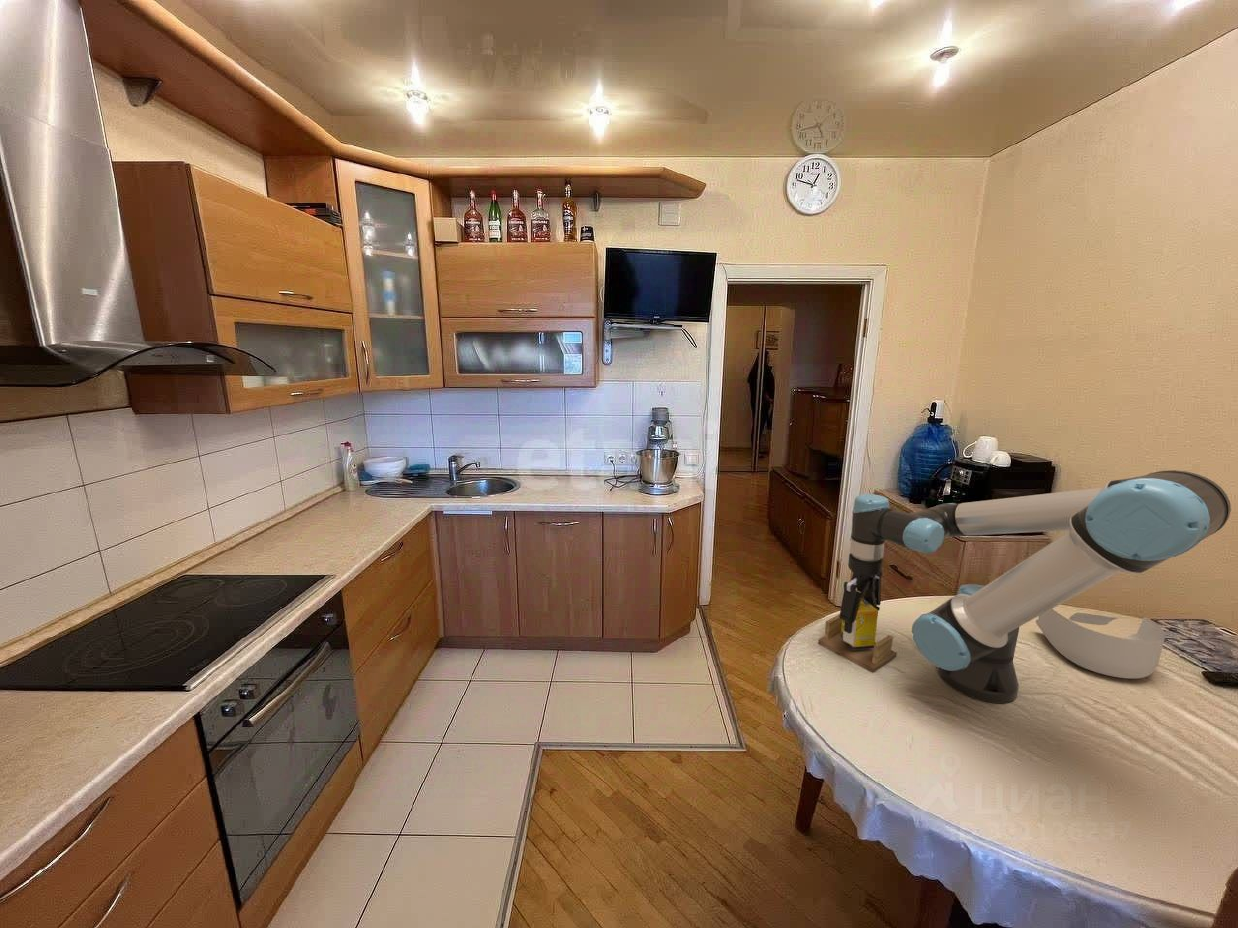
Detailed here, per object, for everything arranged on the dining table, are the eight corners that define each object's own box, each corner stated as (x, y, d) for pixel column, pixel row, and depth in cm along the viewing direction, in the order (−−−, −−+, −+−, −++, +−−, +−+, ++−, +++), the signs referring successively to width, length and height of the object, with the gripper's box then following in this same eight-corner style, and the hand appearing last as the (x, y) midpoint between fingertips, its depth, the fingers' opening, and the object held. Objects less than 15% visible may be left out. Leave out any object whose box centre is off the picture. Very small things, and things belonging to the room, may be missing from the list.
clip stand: (896, 656, 122) (899, 635, 121) (873, 672, 116) (875, 650, 115) (841, 630, 134) (843, 610, 133) (818, 643, 128) (819, 622, 127)
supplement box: (839, 636, 127) (843, 599, 125) (861, 635, 128) (864, 598, 125) (852, 650, 121) (856, 611, 119) (874, 648, 122) (878, 609, 120)
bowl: (1064, 675, 114) (1073, 630, 111) (1031, 632, 131) (1038, 593, 129) (1177, 695, 107) (1190, 648, 104) (1127, 647, 124) (1136, 606, 121)
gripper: (873, 541, 128) (865, 618, 133) (827, 560, 117) (821, 643, 122) (902, 550, 122) (893, 630, 127) (857, 571, 111) (849, 658, 116)
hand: (857, 636), depth 124 cm, fingers closed on supplement box, 8 cm apart
